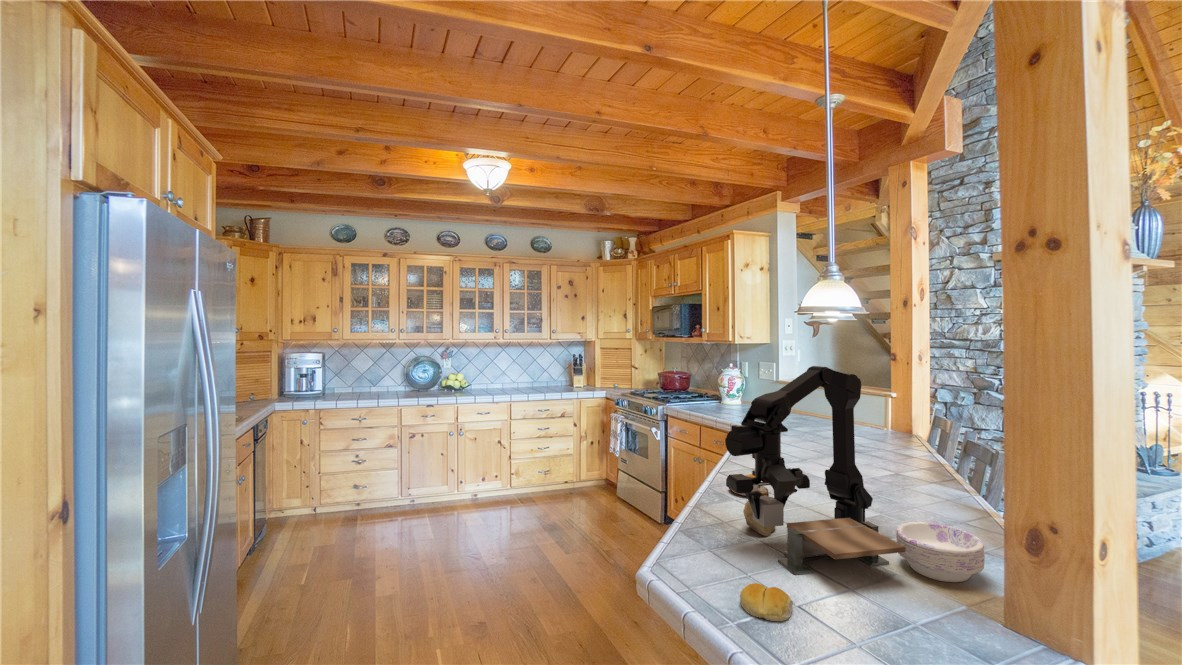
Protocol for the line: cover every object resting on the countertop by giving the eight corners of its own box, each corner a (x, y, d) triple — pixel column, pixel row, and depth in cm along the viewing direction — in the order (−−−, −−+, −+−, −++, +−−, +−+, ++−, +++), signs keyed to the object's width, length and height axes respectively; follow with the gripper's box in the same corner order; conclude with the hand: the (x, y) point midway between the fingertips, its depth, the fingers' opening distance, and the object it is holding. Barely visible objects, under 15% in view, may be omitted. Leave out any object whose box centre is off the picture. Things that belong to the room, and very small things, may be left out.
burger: (721, 490, 161) (721, 466, 161) (753, 486, 164) (753, 463, 164) (743, 502, 149) (743, 477, 149) (777, 498, 153) (777, 473, 153)
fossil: (741, 511, 125) (752, 492, 133) (730, 521, 127) (742, 501, 135) (770, 540, 122) (780, 518, 130) (758, 549, 124) (769, 527, 132)
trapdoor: (849, 540, 116) (849, 517, 116) (905, 573, 100) (905, 546, 100) (786, 547, 113) (786, 522, 113) (834, 582, 97) (834, 553, 97)
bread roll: (746, 593, 98) (746, 572, 98) (795, 606, 93) (795, 585, 93) (733, 613, 91) (733, 590, 91) (785, 628, 86) (786, 605, 86)
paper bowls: (883, 568, 107) (883, 531, 107) (913, 550, 116) (913, 515, 116) (968, 599, 95) (969, 557, 95) (995, 575, 104) (995, 537, 104)
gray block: (771, 517, 122) (771, 494, 121) (783, 525, 117) (783, 501, 117) (752, 519, 121) (752, 495, 120) (763, 527, 116) (763, 502, 116)
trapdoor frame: (861, 548, 117) (861, 514, 117) (889, 564, 109) (889, 528, 109) (771, 557, 113) (771, 522, 112) (793, 575, 104) (794, 537, 104)
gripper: (748, 462, 109) (748, 534, 109) (825, 457, 112) (825, 527, 113) (725, 450, 120) (725, 516, 120) (795, 446, 123) (795, 510, 123)
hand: (767, 517), depth 119 cm, fingers closed on gray block, 5 cm apart
